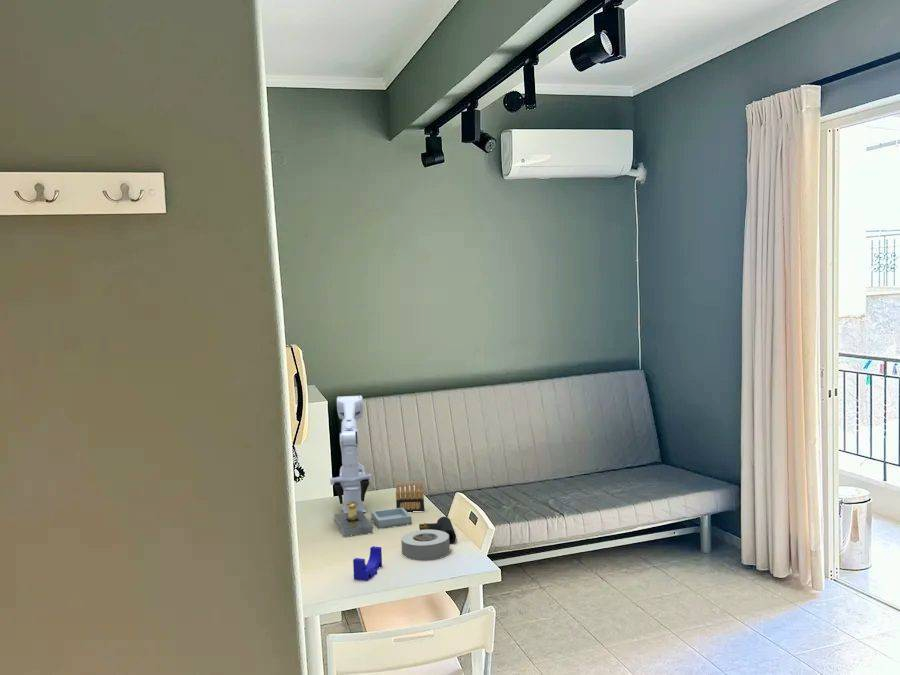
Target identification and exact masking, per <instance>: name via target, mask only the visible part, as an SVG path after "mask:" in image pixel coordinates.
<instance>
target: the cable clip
mask: <svg viewBox="0 0 900 675" xmlns="http://www.w3.org/2000/svg"><path fill="white" fill-rule="evenodd" d="M369 550H370V552H369V558H368V561H367V562H366V560H365V558H360V557H355V558H353V559H352V563H353V564H352V565H353V579H354V580H358V581H367V582H368V581H369V580H371V579H372V578H374V577H375V576H377V574H378V568H379V567H380V568H381V567H383V558H382V557H383V556H382V555H383V552H382V546H371V547H369ZM380 568H379V569H380ZM374 575H375V576H374Z"/></svg>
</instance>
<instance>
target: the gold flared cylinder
mask: <svg viewBox="0 0 900 675" xmlns="http://www.w3.org/2000/svg"><path fill="white" fill-rule="evenodd" d="M356 506H358V502H347V503H346V507H348V520H349V522H355V521H357V508H356Z"/></svg>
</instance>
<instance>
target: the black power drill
mask: <svg viewBox="0 0 900 675" xmlns="http://www.w3.org/2000/svg"><path fill="white" fill-rule="evenodd" d="M418 527H419V528H418V530H428V529H429V530H440V531H444V532H446V533H448V534H449V542H450V545H453V544H454V543H455V542H456V540H457V535H456V531H455V529H454V526H453V523H452V521H451V519H450V518H449V517H448V516H440V517H439V518H438V519H437V521H436V522H434V523H433V522H432V523H427V522H424V523H418Z"/></svg>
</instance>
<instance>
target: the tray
mask: <svg viewBox="0 0 900 675" xmlns="http://www.w3.org/2000/svg"><path fill="white" fill-rule="evenodd" d="M370 512H371V514H370V516H371V517H370V518H371V520H373V521H374V522H373V521H372V522H373V523H374V525H375V524H376V525H377V526H376V525H375V526H376V528H377V529H378V528H382V529H387V528H386V527H389V528H394V527H393V526H397V527H401V526H400V525H404V526H408V525H407V524H412V516H411V513H408V512H407V511H406V510H405V509H404V508H387V509H380V510H373V511H370Z"/></svg>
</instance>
